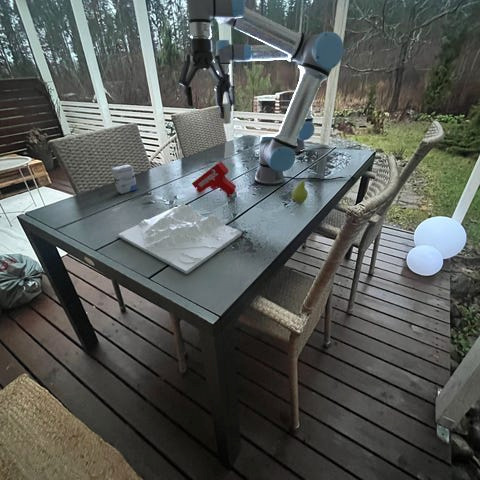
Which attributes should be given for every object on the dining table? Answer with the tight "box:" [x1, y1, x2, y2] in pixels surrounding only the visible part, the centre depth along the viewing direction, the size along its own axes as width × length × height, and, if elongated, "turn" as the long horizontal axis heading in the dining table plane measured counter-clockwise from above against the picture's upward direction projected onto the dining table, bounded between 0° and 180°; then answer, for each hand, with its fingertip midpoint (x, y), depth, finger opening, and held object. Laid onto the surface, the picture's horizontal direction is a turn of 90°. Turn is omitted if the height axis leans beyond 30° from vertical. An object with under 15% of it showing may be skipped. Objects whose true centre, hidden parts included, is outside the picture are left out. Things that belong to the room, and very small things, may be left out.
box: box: [220, 102, 231, 125], centre depth 166 cm, size 5×4×11 cm
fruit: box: [291, 174, 311, 204], centre depth 118 cm, size 7×8×12 cm
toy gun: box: [191, 161, 237, 197], centre depth 128 cm, size 18×4×15 cm
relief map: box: [117, 202, 243, 275], centre depth 96 cm, size 27×35×5 cm
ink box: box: [110, 164, 138, 195], centre depth 131 cm, size 8×5×12 cm, turn 135°
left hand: (205, 104), depth 109 cm, fingers open, 13 cm apart
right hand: (225, 117), depth 167 cm, fingers closed on box, 4 cm apart
